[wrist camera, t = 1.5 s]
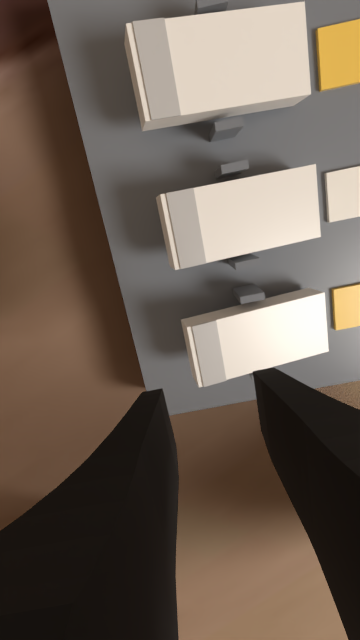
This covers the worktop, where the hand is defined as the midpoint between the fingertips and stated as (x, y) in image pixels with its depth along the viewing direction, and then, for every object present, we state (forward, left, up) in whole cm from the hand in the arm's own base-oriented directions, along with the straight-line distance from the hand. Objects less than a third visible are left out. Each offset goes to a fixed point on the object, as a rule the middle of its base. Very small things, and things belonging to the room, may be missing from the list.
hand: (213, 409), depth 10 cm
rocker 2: (-2, -5, -5) cm, 8 cm away
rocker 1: (-2, -10, -5) cm, 11 cm away
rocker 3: (-2, 0, -5) cm, 6 cm away
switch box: (-3, -5, -9) cm, 11 cm away
